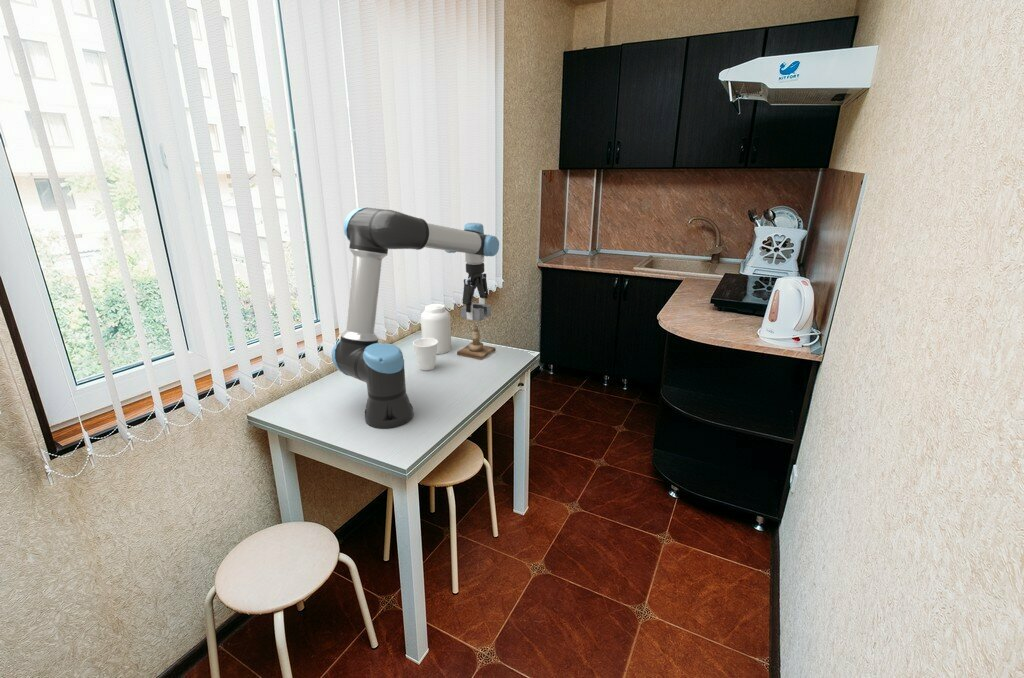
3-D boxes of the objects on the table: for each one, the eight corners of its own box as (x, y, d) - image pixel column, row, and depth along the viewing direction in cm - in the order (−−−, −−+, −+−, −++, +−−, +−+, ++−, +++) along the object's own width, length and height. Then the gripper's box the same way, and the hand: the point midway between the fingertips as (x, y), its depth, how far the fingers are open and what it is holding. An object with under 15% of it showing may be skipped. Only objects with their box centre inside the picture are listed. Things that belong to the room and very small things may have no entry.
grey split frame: (491, 315, 200) (490, 305, 198) (479, 321, 193) (479, 310, 191) (472, 312, 204) (472, 302, 202) (461, 318, 197) (460, 307, 195)
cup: (437, 373, 184) (435, 346, 180) (411, 372, 184) (409, 346, 181) (441, 363, 193) (440, 337, 190) (417, 362, 194) (415, 337, 190)
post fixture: (481, 360, 197) (480, 332, 192) (456, 354, 202) (456, 328, 198) (495, 350, 207) (495, 324, 202) (471, 345, 212) (471, 320, 208)
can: (456, 346, 211) (454, 303, 204) (444, 356, 200) (441, 311, 193) (430, 343, 215) (428, 300, 208) (417, 353, 204) (414, 308, 197)
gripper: (468, 268, 180) (469, 324, 188) (496, 259, 198) (496, 310, 206) (451, 266, 183) (454, 322, 191) (481, 257, 201) (482, 308, 209)
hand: (476, 316), depth 198 cm, fingers closed on grey split frame, 9 cm apart
